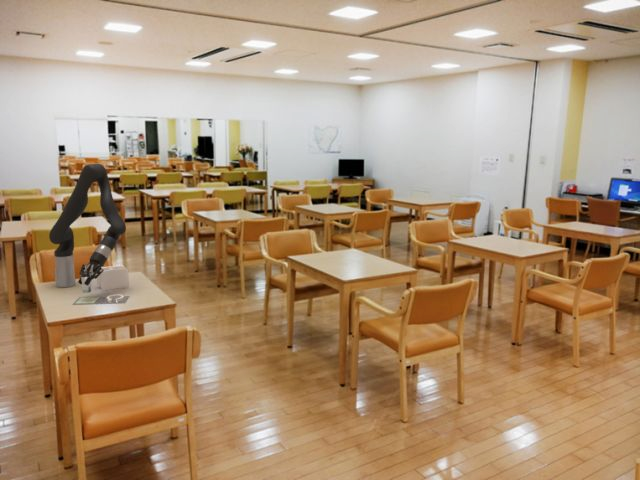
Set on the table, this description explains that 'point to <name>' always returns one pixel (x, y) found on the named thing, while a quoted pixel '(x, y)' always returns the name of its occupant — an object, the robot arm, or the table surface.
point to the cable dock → (102, 300)
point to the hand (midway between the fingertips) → (82, 283)
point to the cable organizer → (113, 278)
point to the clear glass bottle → (83, 278)
